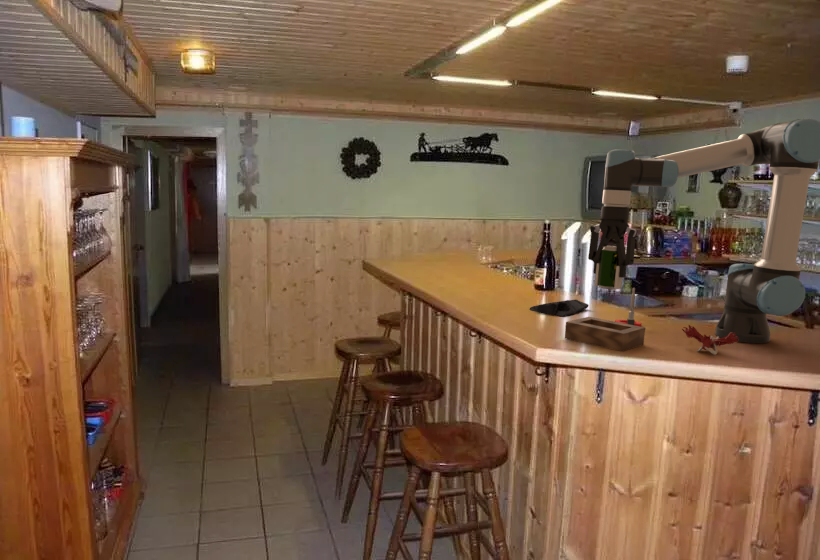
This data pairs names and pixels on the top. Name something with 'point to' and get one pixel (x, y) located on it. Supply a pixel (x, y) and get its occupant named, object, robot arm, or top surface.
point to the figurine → (710, 339)
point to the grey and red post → (631, 313)
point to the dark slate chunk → (560, 308)
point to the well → (605, 333)
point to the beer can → (608, 267)
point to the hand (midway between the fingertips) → (607, 286)
